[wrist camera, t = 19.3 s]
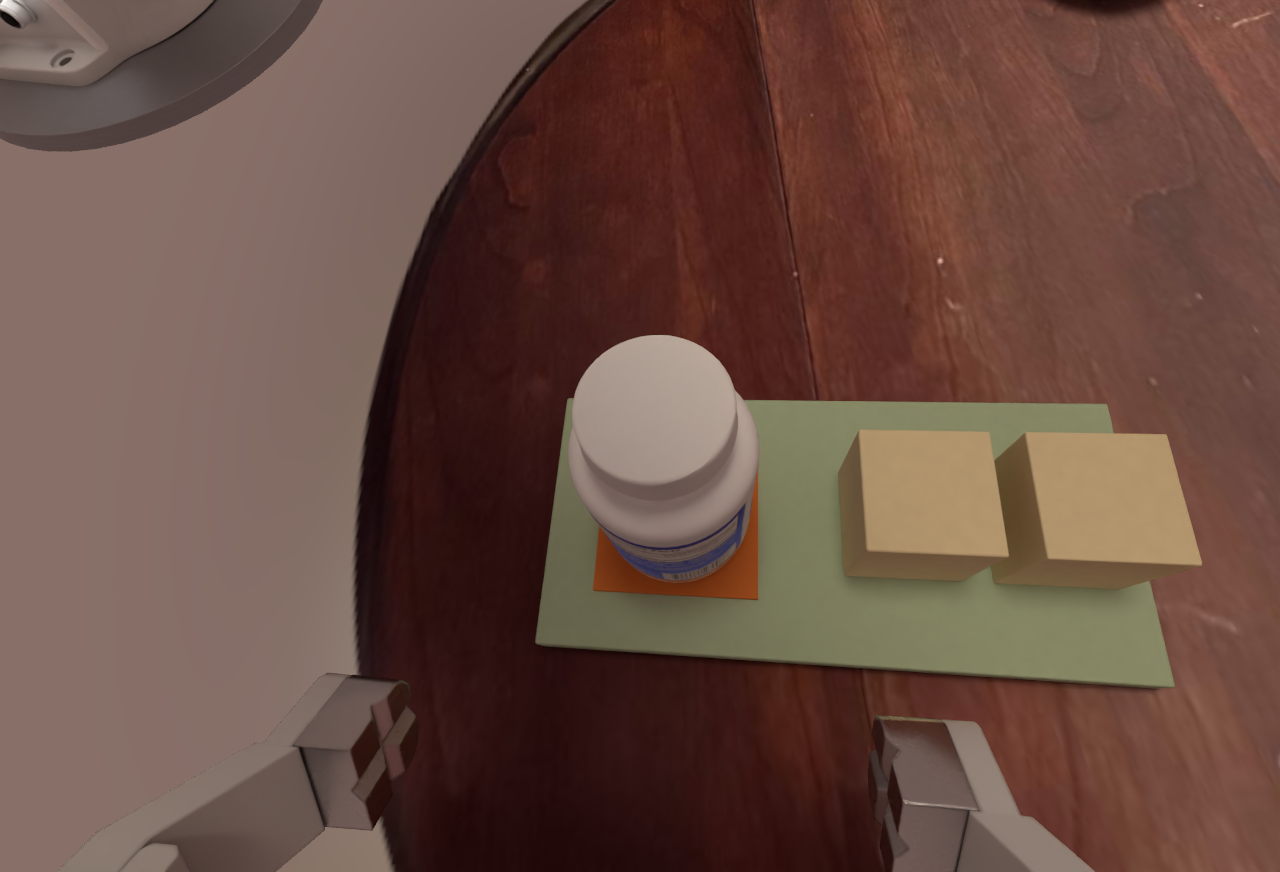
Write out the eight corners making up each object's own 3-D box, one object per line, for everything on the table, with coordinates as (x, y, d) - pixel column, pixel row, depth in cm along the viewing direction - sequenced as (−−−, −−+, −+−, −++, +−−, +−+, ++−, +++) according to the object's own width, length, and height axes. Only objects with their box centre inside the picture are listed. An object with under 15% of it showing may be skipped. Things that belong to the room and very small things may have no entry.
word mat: (541, 646, 24) (497, 631, 19) (572, 407, 27) (541, 348, 23) (1156, 688, 21) (1279, 684, 16) (1093, 414, 24) (1178, 347, 20)
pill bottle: (637, 432, 25) (589, 285, 16) (767, 470, 24) (793, 333, 15) (586, 558, 23) (502, 470, 15) (725, 608, 22) (725, 544, 13)
